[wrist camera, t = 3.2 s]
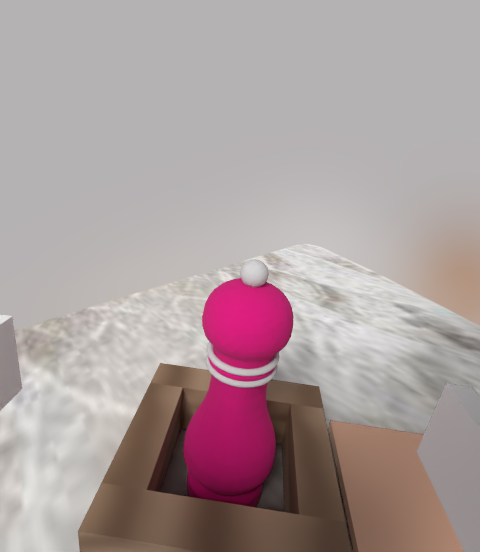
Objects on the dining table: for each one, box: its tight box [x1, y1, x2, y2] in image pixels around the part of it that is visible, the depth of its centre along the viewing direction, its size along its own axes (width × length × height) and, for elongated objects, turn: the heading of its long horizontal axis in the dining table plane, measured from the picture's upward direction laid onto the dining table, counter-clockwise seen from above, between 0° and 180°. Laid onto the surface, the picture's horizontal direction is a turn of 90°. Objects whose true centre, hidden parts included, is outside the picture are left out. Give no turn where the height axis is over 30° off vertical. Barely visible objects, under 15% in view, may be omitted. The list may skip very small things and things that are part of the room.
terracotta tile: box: [328, 420, 464, 552], centre depth 28 cm, size 16×16×1 cm
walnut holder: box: [78, 363, 352, 552], centre depth 28 cm, size 16×16×5 cm
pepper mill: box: [183, 260, 293, 507], centre depth 25 cm, size 7×7×20 cm
